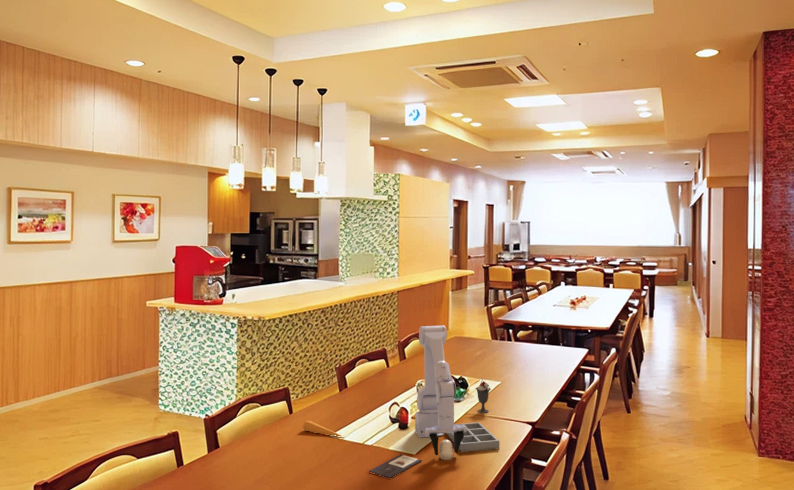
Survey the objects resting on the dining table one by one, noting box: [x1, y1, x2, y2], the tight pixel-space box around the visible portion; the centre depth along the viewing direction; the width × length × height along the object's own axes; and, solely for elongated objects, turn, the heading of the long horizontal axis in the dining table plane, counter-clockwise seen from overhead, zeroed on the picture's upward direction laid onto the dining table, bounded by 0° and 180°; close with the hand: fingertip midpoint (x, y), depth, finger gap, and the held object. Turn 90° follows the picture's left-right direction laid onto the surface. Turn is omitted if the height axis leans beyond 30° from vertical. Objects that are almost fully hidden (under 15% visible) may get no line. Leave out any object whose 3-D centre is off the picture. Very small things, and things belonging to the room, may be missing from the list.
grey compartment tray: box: [445, 421, 500, 453], centre depth 222 cm, size 14×21×3 cm
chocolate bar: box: [368, 453, 423, 479], centre depth 198 cm, size 9×1×18 cm
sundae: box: [475, 379, 492, 414], centre depth 258 cm, size 7×7×15 cm
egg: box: [439, 439, 454, 461], centre depth 206 cm, size 4×4×6 cm
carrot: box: [302, 420, 342, 436], centre depth 231 cm, size 20×4×4 cm, turn 61°
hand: (446, 453), depth 206 cm, fingers open, 7 cm apart
